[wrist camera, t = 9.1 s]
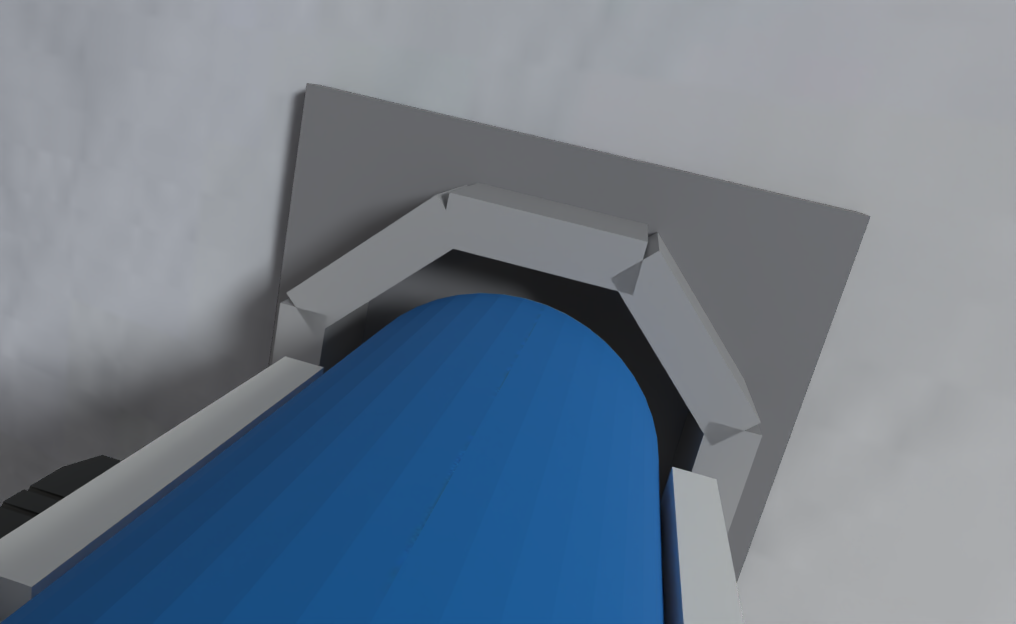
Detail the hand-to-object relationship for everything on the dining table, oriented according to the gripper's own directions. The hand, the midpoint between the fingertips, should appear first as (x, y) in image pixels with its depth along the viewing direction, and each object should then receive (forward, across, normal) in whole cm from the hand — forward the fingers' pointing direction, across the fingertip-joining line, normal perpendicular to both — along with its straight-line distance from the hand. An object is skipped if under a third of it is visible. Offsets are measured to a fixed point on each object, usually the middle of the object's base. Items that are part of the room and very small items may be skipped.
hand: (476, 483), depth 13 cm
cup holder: (+4, 0, 0) cm, 4 cm away
